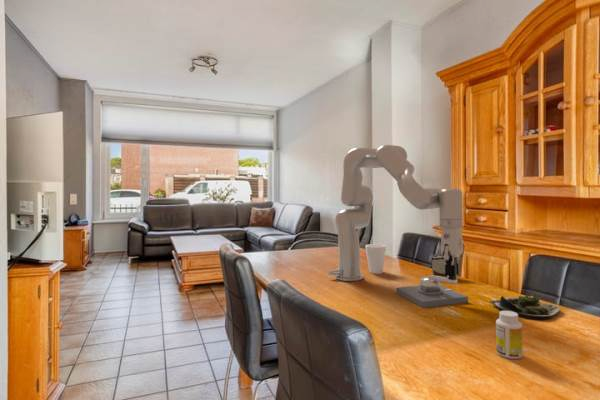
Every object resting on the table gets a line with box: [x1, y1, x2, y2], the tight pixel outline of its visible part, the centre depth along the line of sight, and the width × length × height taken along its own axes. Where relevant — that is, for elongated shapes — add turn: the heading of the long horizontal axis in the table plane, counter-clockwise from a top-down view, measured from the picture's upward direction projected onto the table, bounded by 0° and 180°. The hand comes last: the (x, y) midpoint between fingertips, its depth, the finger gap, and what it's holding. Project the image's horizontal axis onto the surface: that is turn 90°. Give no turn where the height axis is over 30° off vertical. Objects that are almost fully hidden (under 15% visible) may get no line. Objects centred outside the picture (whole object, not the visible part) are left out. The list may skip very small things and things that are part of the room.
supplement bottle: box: [495, 310, 523, 360], centre depth 87 cm, size 6×6×10 cm
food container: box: [429, 253, 460, 277], centre depth 161 cm, size 12×6×10 cm, turn 84°
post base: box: [395, 284, 469, 308], centre depth 133 cm, size 18×18×3 cm
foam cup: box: [365, 243, 387, 275], centre depth 173 cm, size 10×9×13 cm
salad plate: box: [489, 295, 561, 321], centre depth 119 cm, size 19×18×5 cm
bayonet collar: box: [419, 255, 458, 292], centre depth 131 cm, size 13×9×14 cm
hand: (451, 274), depth 127 cm, fingers closed on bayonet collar, 3 cm apart
